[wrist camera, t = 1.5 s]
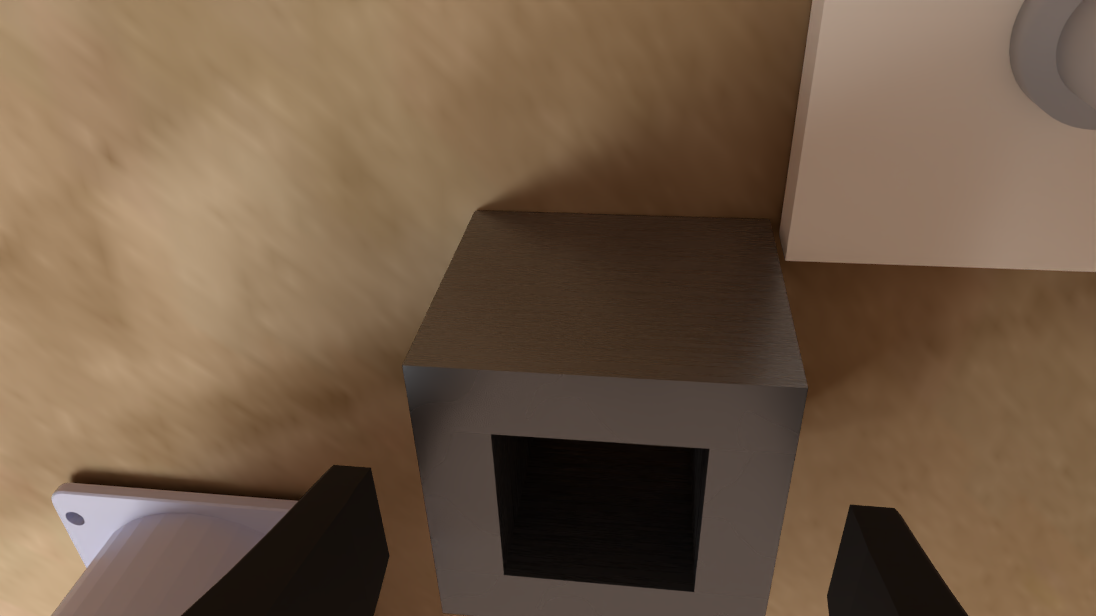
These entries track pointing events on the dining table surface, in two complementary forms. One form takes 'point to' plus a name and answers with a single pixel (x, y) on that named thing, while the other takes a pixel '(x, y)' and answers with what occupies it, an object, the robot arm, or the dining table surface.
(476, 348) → the collar
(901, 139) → the post block
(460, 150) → the dining table surface
